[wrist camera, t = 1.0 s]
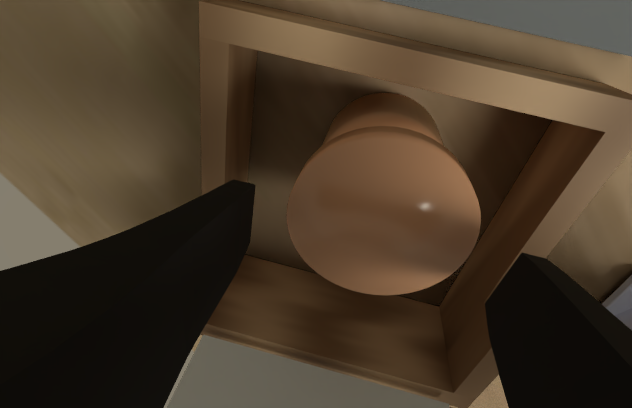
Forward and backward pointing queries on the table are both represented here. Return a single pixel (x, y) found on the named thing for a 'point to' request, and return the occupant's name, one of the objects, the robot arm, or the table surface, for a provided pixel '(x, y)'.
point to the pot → (383, 201)
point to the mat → (547, 18)
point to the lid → (277, 383)
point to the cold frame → (487, 257)
